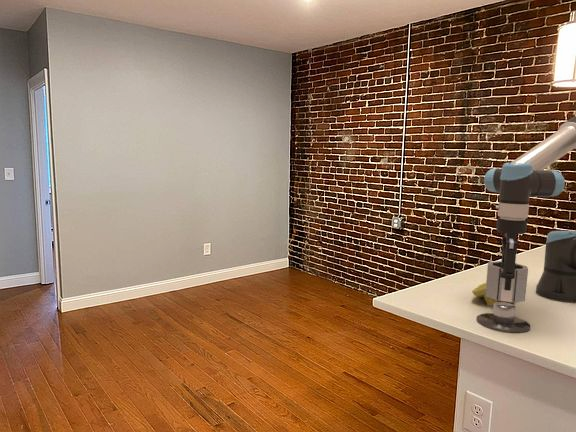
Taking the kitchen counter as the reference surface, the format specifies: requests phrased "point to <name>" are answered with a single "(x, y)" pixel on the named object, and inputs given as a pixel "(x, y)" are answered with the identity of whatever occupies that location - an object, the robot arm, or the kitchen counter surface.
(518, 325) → the duct stub
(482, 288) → the plastic component
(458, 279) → the kitchen counter surface
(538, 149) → the robot arm
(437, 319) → the kitchen counter surface
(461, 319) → the kitchen counter surface
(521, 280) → the collar
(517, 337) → the kitchen counter surface
